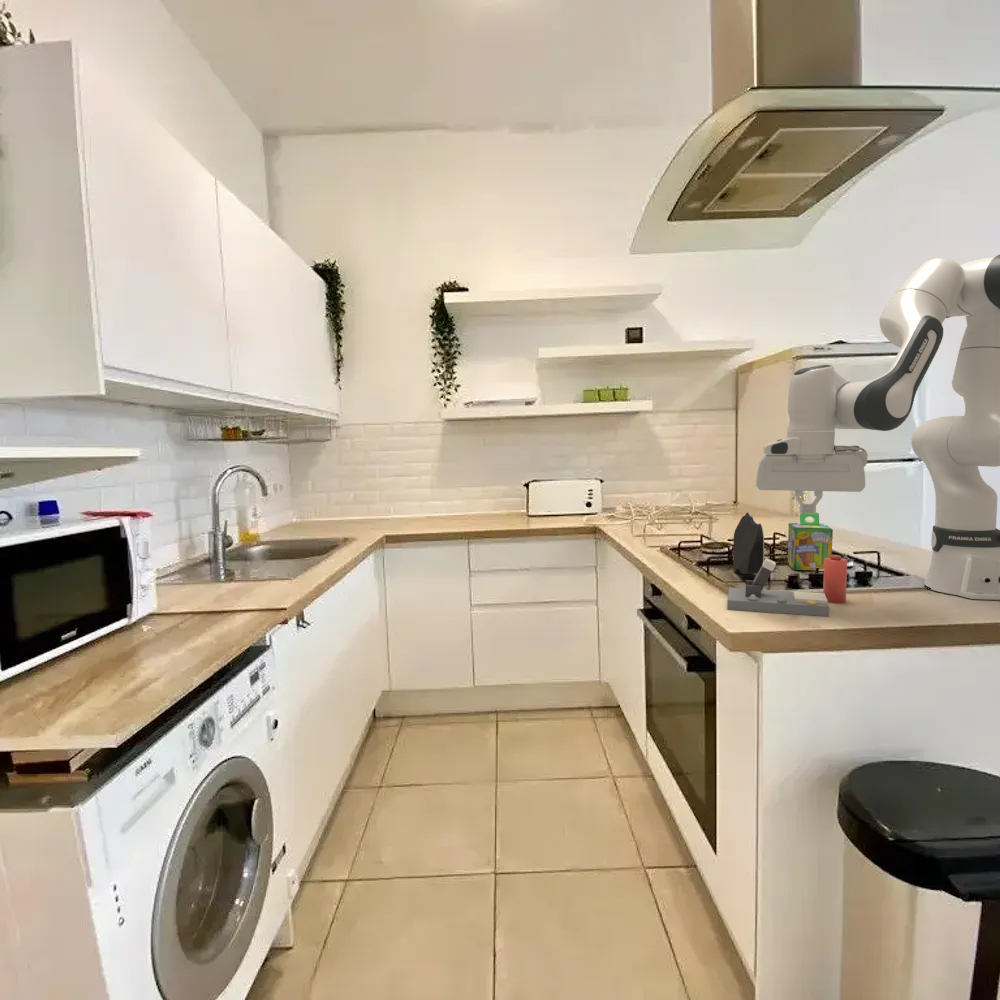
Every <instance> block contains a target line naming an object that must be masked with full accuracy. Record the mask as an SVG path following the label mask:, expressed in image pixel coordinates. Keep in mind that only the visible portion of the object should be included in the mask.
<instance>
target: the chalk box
mask: <svg viewBox="0 0 1000 1000" xmlns="http://www.w3.org/2000/svg"><path fill="white" fill-rule="evenodd" d="M809 517H811V518H813V521H807V520H806V519H807V518H809ZM787 533H788V535H787V536H788V537H787V564H788V563H789V565H788V566H789V567H790V568H792V569H793V571H795V570H815V569H816V568H819V569H824V558H830V556H831V555H833V539H834V537H833V535H834V529H833V528H831V527H830V526H828V525H826V524H824V523H820V515H819V513H818V512H816V513H800V512H799V522H794V523H788V532H787Z"/></svg>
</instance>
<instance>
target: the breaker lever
mask: <svg viewBox="0 0 1000 1000" xmlns="http://www.w3.org/2000/svg"><path fill="white" fill-rule="evenodd" d="M775 567H777V566H776V561H773V560H772V559H769V558H768V557H764V562H763V564H762V566H761V568H760V570H759V572H758V574H756V576H755V577H754V579H753V580H754V581H753V583H752V585H758V586H761V591H762V590H764V587H765V585H766V584H767V582H768V580H769V578H770V576H771V574H772V572H773V571H774V570H775Z"/></svg>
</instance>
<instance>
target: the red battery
mask: <svg viewBox="0 0 1000 1000" xmlns="http://www.w3.org/2000/svg"><path fill="white" fill-rule="evenodd" d="M847 573H848V559H846V558H842V556H841V555H839V554H832V555H831V556H830V558H824V572H823V584H822V585H823V586H822V588H823V591H822V593H824V594H825V596H826V598H827V601H828V602H827V603H833V604H843V603H846V602H847V585H848V584H847V582H848V581H847V579H848V578H847V576H848V574H847Z"/></svg>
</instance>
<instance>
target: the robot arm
mask: <svg viewBox="0 0 1000 1000" xmlns="http://www.w3.org/2000/svg"><path fill="white" fill-rule="evenodd" d="M964 316H965V320H966V325H967V326H966V328H965V331H964V333H963V336H962V339H961V343H960V345H959V350H958V354H957V358H956V363H955V367H954V372H953V375H952V379H951V380H952V381H951V385H952V386H951V387H952V389H953V391H954V392H955V393H956V394H957V395H959V396H960V397H962V398H963V400H964V401H963V402H964V406H965V408H964V410H965V411H964V415H956V416H955V415H953V416H940V417H936V418H933V419H929V420H926V421H923V422H921V423H920V424H919V425H918V426H917V427H916V428H915V429H914V431H913V432H912V436H911V447H912V450H913V452H914V454H915V455H916V457H918V458H919V459H920V460H921V461H922V462H923V464H924V465H925V467H926V468H927V471H928V472H929V475H930V477H931V480H932V483H933V486H934V487H933V489H934V494H935V520H934V521H935V522H934V523H935V524H934V525H933V526H932V531H931V542H930V543H931V544H930V545H931V546H930V547H931V549H932V554H931V559H930V560H931V561H930V564H929V569H928V572H927V575H926V579H925V581H924V583H926V584H927V585H928V586H929V587H930V588H931V589H930V590H932V591H936V592H940V593H943V594H948V595H953V596H959V597H962V598H967V599H971V600H998V601H999V600H1000V529H999V528H997V515H998V500H999V499H998V498H999V497H998V494H997V492H996V491H995V489H994V488H992V487H991V486H990V485H989V484H988V483H986V481H984V479H983V476H982V475H981V473H980V469H979V467H991V468H992V467H993V468H994V467H996V468H997V467H1000V254H997V255H994V256H988V257H983V258H981V257H980V258H978V259H972V260H969V261H966V262H964V263H962V264H959V263H958V262H956V261H955V260H953V259H950V258H947V257H946V258H945V257H937V258H936V257H935V258H932V259H928V260H926V261H925V262H923V263H922V264H920V265H919V266H918V267H917V268H916V269H914V271H912V273H911V274H909V276H908V277H907V278H905V280H904V281H903V282H902V284H900V286H899V287H898V288H897V290H896V291H895V292H894V294H893V295H892V297H891V298H890V300H888V302H887V303H886V305H885V307H884V309H883V310H882V311H881V314H880V318H879V326H880V330H881V332H882V334H883V336H884V338H886V339H887V340H888V342H890V343H891V344H893V345H895V346H896V347H897V348H900V349H899V351H898V352H897V354H896V357H895V358H894V360H893V362H892V364H891V365H890V367H889V369H888V370H887V372H886V373H884V374H882V375H881V376H878V377H876V378H873V379H869V380H861V381H860V380H859V381H852V380H850V379H848V378H846V377H844V376H842V375H841V374H839V373H838V372H837V371H836V369H835V368H834V366H833V365H831V364H820V365H819V364H818V365H815V366H808V367H803V368H800V369H797V370H796V371H795V372H794V373H793V374H792V376H791V379H790V382H789V389H788V397H787V413H788V416H789V419H788V420H789V423H788V426H787V428H786V438H784V439H778V440H776V441H773V442H769V443H767V444H765V445H764V446H763V453H764V454H765V455H764V456H763V457H761V459H760V460H759V464H758V467H757V472H756V481H755V486H756V488H757V489H758V490H759V491H783V492H785V491H788V492H789V491H790V492H791V491H793V492H794V497H795V498H796V501H797V502H798V503H799V514H800V513H817V505H818V504H819V502H820V501H821V500H822V498H823V496H824V495H823V494H824V493H823V492H840V493H841V492H846V493H847V492H850V493H852V492H853V493H854V492H856V493H860V492H862V491H864V489H865V488H866V474H865V472H866V471H865V467H866V466H867V464H868V452H867V451H866V449H864V448H862V447H860V446H859V445H836V444H835V439H836V435H835V434H836V429H837V430H872V431H879V432H880V431H881V432H889V431H892V430H895V429H897V428H898V427H900V426H901V425H902V424H903V423H904V422H905V421H906V420H907V419H908V417H909V416H910V413H911V411H912V408H913V405H914V401H915V397H916V396H917V395H916V394H917V391H918V389H919V387H920V386H921V383H922V381H923V380H924V377H925V375H926V374H927V371H928V370H929V368H930V366H931V364H932V363H933V360H934V358H935V356H936V354H937V352H938V350H939V348H940V345H941V343H942V341H943V337H944V326H943V323H944V322H945V320H946V319H949V318H953V317H964ZM804 492H813V496H814V497H815V498H814V500H813V501H812V503H804V502H803V500H802V499H801V497H803V494H804Z"/></svg>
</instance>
